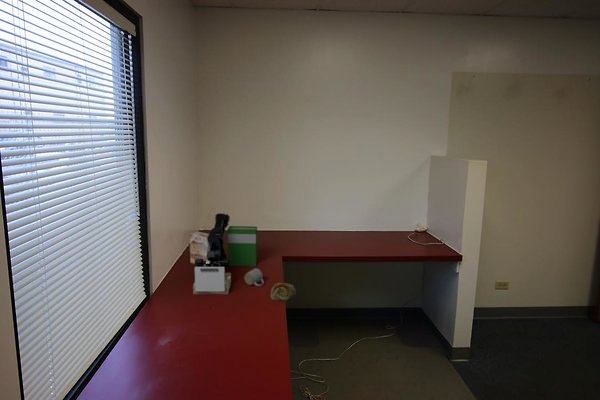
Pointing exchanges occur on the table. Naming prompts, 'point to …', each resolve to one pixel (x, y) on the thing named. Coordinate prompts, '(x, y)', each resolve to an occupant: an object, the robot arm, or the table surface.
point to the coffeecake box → (198, 246)
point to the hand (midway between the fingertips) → (211, 277)
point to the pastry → (282, 292)
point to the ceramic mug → (254, 277)
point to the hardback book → (242, 245)
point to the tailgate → (209, 278)
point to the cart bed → (227, 287)
